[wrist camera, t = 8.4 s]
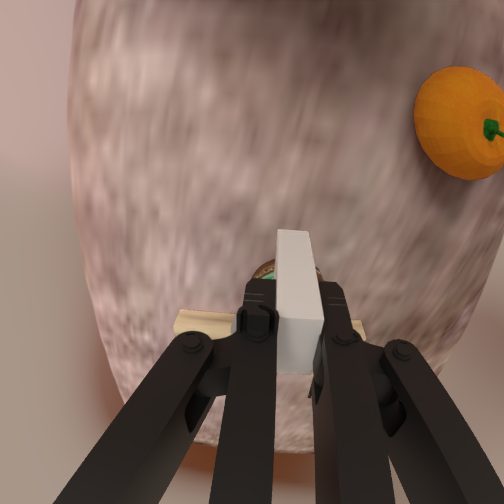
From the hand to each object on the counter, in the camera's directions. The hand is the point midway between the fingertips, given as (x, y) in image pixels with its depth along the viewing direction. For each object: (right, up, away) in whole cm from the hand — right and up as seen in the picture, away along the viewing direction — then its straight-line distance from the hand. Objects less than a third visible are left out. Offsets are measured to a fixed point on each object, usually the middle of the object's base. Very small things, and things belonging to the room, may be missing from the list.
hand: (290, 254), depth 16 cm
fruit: (+19, +15, +11) cm, 27 cm away
